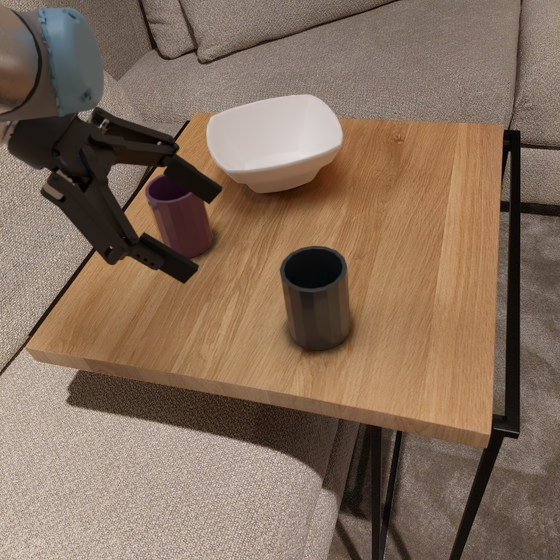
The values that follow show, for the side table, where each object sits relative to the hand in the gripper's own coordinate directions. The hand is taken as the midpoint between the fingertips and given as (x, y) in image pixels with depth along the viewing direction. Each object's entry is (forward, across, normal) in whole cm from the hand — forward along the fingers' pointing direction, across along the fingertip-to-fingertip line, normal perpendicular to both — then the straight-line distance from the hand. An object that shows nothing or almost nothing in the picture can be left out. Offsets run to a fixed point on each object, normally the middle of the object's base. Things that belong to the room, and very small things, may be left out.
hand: (205, 232), depth 65 cm
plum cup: (+4, +15, +16) cm, 22 cm away
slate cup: (+18, -2, +2) cm, 18 cm away
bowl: (+12, +31, +8) cm, 34 cm away
